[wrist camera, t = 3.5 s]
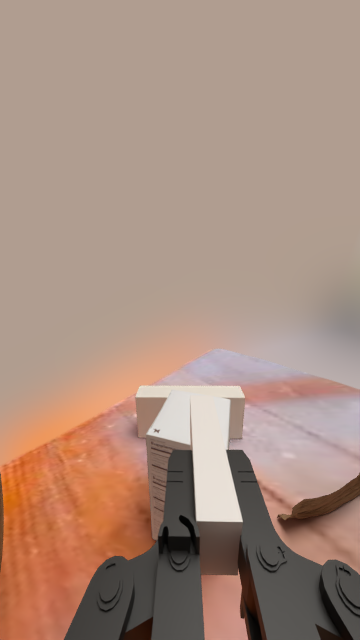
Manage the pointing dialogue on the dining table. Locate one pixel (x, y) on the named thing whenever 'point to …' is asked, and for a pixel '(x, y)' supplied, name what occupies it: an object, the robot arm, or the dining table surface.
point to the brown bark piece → (325, 501)
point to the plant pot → (1, 521)
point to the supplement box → (174, 444)
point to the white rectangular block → (156, 396)
